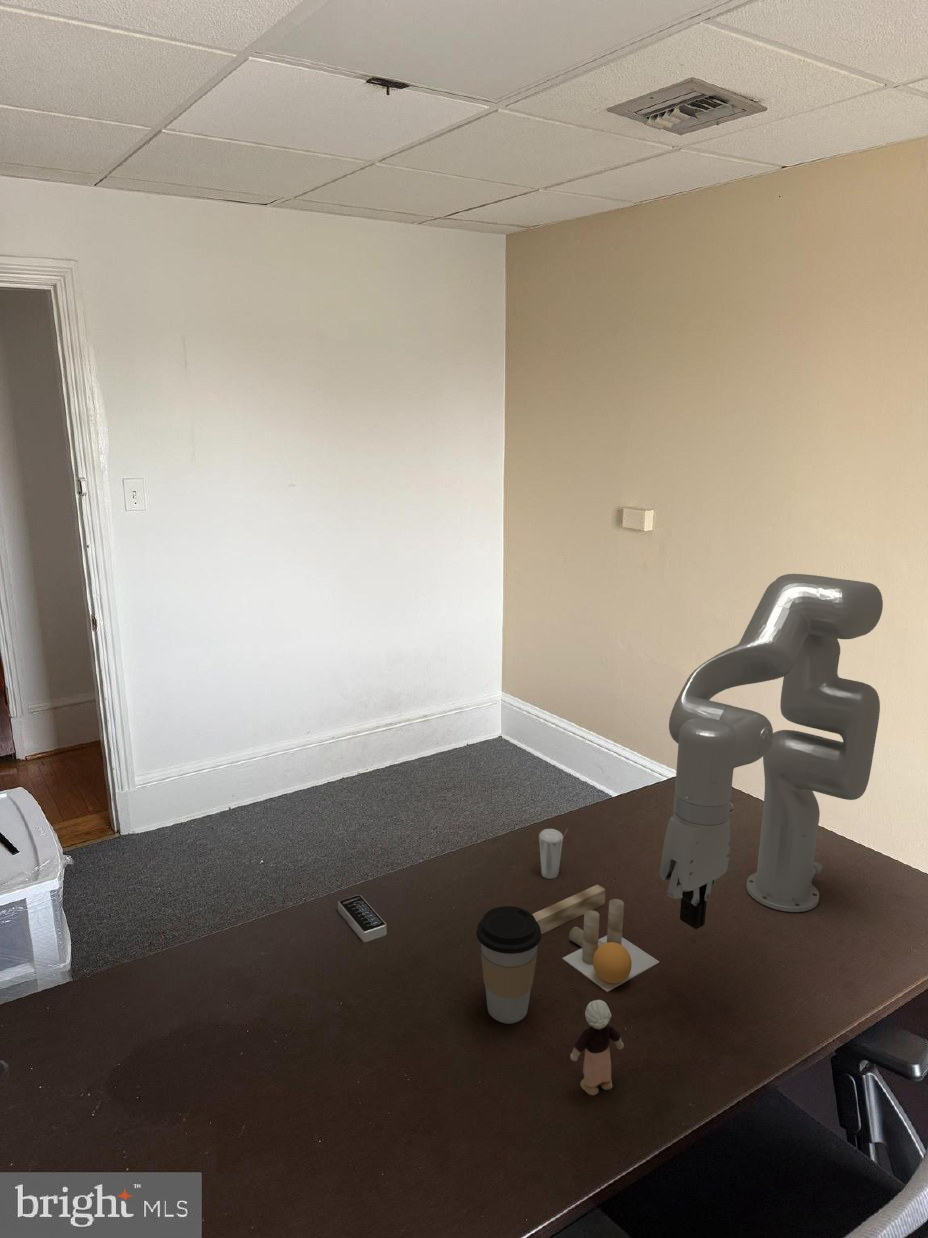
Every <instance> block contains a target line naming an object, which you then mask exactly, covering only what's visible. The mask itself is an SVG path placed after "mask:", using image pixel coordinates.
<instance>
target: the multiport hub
mask: <svg viewBox="0 0 928 1238" xmlns="http://www.w3.org/2000/svg"><path fill="white" fill-rule="evenodd" d="M337 908H338V910H337V911H338V913H339V914H340V916H341V917H342V918H343V919H344V921H345V922H346V923H347V924H348V926H350V928H351V929H352V930H353V931H354V932H355V934H356V935H357V936H358V937H359V939H360V940H361V941H362V943H368V942H370V941H373V940H376V939H378V938H382V937H385V936H386V935H387V934H388V933H387V931H388V930H387V923H386V921H385V920H383V919H382V918H381V916H380V915H379V914H378V913H377V911H376V910H374V908H373V907H372V906H371V905H370V904H369V903H368V902H367V901H366V899H365V898H364V897H363V896H362V895H361V894H357V895H353V896H349V897H346V898H344V899H341V900H338V901H337Z"/></svg>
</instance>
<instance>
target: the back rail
mask: <svg viewBox="0 0 928 1238" xmlns="http://www.w3.org/2000/svg"><path fill="white" fill-rule="evenodd" d="M605 904H606V888H604V887H603V886H601V885H599V884H596V885H593V886H590V887H589V888H587V889H585V890H583V891H580V892H577V893H575V894H574V895H571V896H569V897H567V898H564V899H563V900H560V901H558V902H555V903H554V904H552V905H550V906H547V907H545V908H543V909H541V910H540V909H539V910H538V911H536V912H533V913H531V914H532V915H533V916H534V918H535V920H536V921H537V923H538V924H539V926H540V929H541V935H543V934H546V933H547V932H549V931H552V930H553V929H556V928H557V927H559V926H562V925H564V924H566V923H568V922H570V921H572V920H574V919H577V918H579V917H581V916H583V915H584V913H585V912H586V911H589V910H592V911H594V910H596V909H598V908H600V907H601V906H604V905H605Z"/></svg>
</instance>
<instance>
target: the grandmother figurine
mask: <svg viewBox="0 0 928 1238" xmlns="http://www.w3.org/2000/svg"><path fill="white" fill-rule="evenodd" d="M584 1015H585V1019H586V1022H587V1024H589V1026H590V1027H588V1028H586V1029H584V1031H583V1032H582V1033H581V1034H580V1036H579V1037H578V1039H577V1040H576V1042H575V1044H574V1046H573V1048H572V1052H570V1055H569V1058H570V1060H571V1061H573V1062H577V1061H578V1059H579V1057H580V1055H581V1053H582V1052H584V1060H583V1067H582V1074H583V1078H582V1079H581V1080H580V1085H579V1086H580V1088H581V1089H582V1090H583V1091H585V1092H586V1094H587V1095H589V1096H595V1095H598V1094H599V1092H600V1091H599V1088H598V1086H600V1088H601V1089H603V1090H606V1091H607V1090H612V1089H613V1080H612V1061H611V1052H610V1051H611V1050H610V1040H611V1041H613V1043H614V1045H615V1047H616V1048H617V1049H618V1050H623V1049H624V1046H625V1045H624V1042H623V1040H622V1037H621V1035H620V1033H619V1032H618V1030H617V1029H615V1027H613V1026H612V1025H610V1024H609V1023H610V1021H611V1019H612V1012H611V1011H610V1008H609V1006H608V1003H606V1002H605V1001H604V1000H602V999H595V1000H592V1001H590V1002H589V1003H588V1004H587V1006H586V1008H585V1013H584Z"/></svg>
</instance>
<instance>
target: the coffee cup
mask: <svg viewBox="0 0 928 1238" xmlns="http://www.w3.org/2000/svg"><path fill="white" fill-rule="evenodd" d="M532 914H533V913H531V912H529V911H528V910H526V909H524V908H522V907H517V906H511V905H503V906H497V907H494V908H491V909H489V910H488V911H486V912H485V914H484V915H483V916H482V918H481V919H480V921H479V922H478V924H477V928H476V932H475V933H476V938H477V940H478V942H479V943H480V945H481V946H480V957H481V966H482V967H481V968H482V977H483V984H484V988H485V996H486V998H485V999H486V1006H487V1011H488V1012H487V1013H488V1014H489V1016H491V1017H492V1018H493V1019H494V1020H496V1021H497V1022H500V1023H503V1024H507V1025H508V1024H510V1025H511V1024H515V1023H517V1022H520V1021H521V1020H523V1019H525V1017H526V1016H527V1014H528V1010H529V1003H530V999H531V996H530V995H531V990H532V987H533V985H534V984H533V983H534V979H535V977H534V976H535V972H536V971H535V970H536V965H537V964H536V962H537V957H538V956H537V955H538V945H539V943H540V942H541V940H542V934H541V929H540V926H539V924H538V923H537V921H536V920H535V918H534V916H533V915H532Z"/></svg>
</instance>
